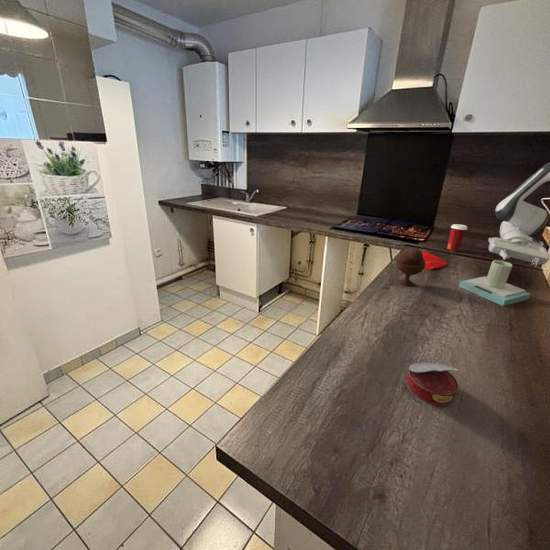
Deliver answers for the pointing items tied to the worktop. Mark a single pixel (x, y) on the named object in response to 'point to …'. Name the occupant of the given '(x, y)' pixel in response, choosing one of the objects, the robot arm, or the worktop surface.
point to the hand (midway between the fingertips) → (520, 262)
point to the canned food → (432, 382)
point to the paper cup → (456, 236)
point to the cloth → (433, 261)
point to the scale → (495, 291)
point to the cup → (498, 274)
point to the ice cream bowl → (410, 264)
